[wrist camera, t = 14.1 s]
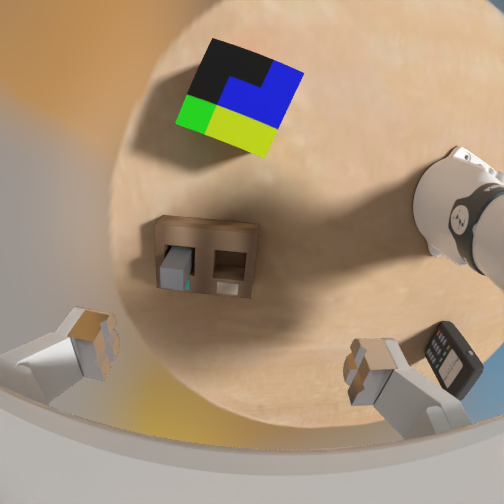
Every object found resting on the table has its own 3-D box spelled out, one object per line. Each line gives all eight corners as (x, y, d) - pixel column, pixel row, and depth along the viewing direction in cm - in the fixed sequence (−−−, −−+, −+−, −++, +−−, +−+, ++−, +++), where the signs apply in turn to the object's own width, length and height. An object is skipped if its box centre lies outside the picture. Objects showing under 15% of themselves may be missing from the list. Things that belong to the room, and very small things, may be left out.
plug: (195, 241, 45) (183, 270, 37) (195, 259, 47) (183, 290, 39) (176, 239, 45) (159, 267, 37) (176, 257, 47) (160, 287, 38)
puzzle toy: (292, 83, 36) (304, 73, 27) (262, 148, 40) (264, 158, 31) (222, 55, 34) (212, 38, 25) (193, 121, 38) (175, 123, 29)
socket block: (258, 224, 44) (258, 235, 40) (251, 284, 48) (250, 299, 45) (162, 215, 44) (154, 225, 40) (163, 274, 48) (156, 288, 44)
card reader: (439, 318, 52) (473, 369, 38) (452, 319, 52) (487, 367, 38) (421, 353, 56) (448, 405, 42) (434, 352, 56) (462, 402, 42)
